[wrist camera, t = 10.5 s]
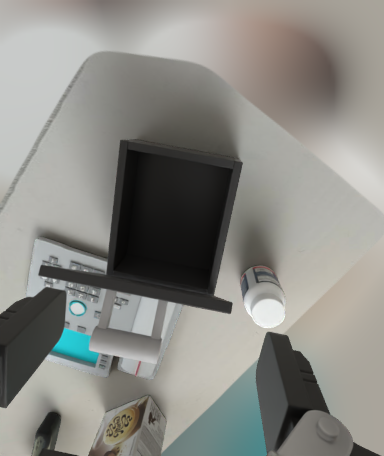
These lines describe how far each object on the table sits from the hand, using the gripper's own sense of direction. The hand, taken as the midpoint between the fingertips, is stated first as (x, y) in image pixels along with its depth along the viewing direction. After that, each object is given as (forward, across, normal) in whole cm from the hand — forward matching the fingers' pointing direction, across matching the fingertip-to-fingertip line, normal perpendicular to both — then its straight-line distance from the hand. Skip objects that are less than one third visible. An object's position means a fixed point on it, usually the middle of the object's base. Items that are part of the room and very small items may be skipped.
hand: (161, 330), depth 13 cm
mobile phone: (+32, +19, +50) cm, 62 cm away
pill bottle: (+32, -10, +11) cm, 36 cm away
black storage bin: (+32, +3, +3) cm, 32 cm away
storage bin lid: (+17, +3, +7) cm, 19 cm away
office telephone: (+32, +12, +22) cm, 41 cm away
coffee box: (+32, +4, +40) cm, 52 cm away
